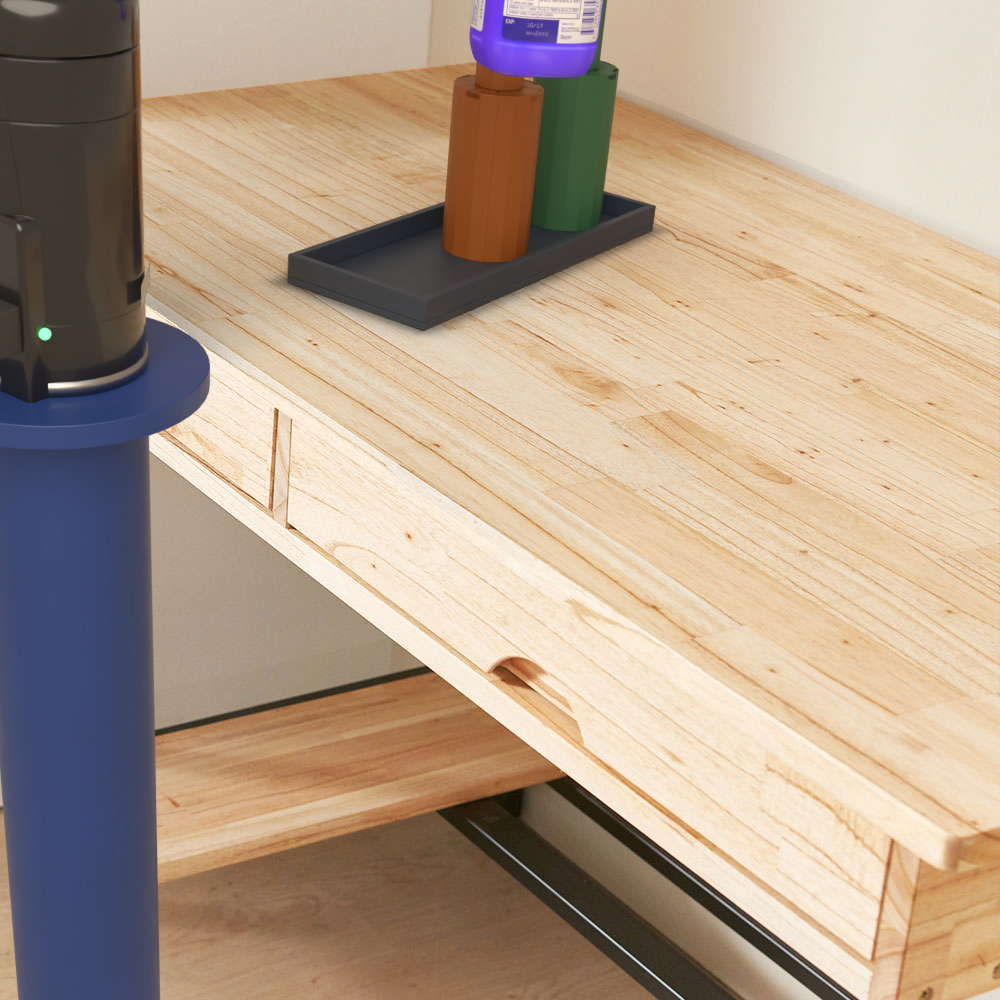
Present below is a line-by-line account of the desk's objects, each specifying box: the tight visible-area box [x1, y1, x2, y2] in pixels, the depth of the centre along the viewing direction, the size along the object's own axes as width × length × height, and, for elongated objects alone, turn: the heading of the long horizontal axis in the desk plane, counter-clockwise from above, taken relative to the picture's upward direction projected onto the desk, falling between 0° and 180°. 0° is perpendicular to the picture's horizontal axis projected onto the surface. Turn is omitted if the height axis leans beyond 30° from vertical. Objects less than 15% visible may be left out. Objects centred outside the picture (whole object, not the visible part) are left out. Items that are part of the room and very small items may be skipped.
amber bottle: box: [442, 61, 544, 263], centre depth 105 cm, size 6×6×17 cm
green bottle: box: [530, 0, 620, 232], centre depth 113 cm, size 6×6×17 cm
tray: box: [286, 190, 657, 331], centre depth 109 cm, size 29×11×2 cm, turn 146°
